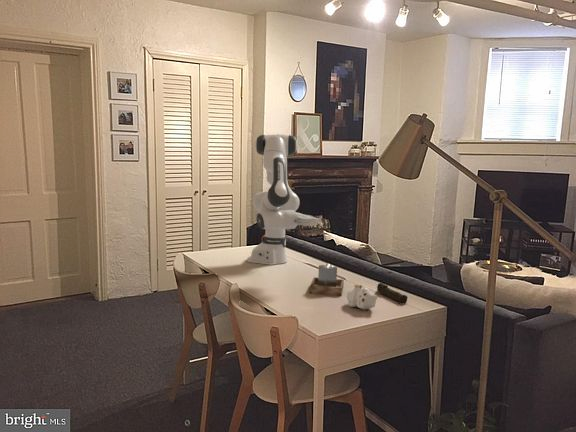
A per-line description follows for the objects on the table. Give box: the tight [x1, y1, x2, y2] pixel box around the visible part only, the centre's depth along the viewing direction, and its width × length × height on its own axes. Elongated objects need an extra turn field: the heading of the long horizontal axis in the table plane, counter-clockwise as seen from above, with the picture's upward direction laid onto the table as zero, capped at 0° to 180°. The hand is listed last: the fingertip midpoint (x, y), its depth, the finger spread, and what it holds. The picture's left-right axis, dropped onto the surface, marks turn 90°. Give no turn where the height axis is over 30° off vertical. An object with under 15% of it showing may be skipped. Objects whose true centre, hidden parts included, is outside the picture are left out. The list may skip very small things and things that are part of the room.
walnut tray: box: [309, 277, 345, 297], centre depth 217 cm, size 14×14×4 cm
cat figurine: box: [346, 284, 379, 310], centre depth 194 cm, size 10×8×15 cm
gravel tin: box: [317, 263, 338, 287], centre depth 217 cm, size 6×6×11 cm
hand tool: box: [376, 282, 408, 304], centre depth 210 cm, size 19×4×5 cm, turn 22°
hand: (315, 218), depth 232 cm, fingers open, 8 cm apart
